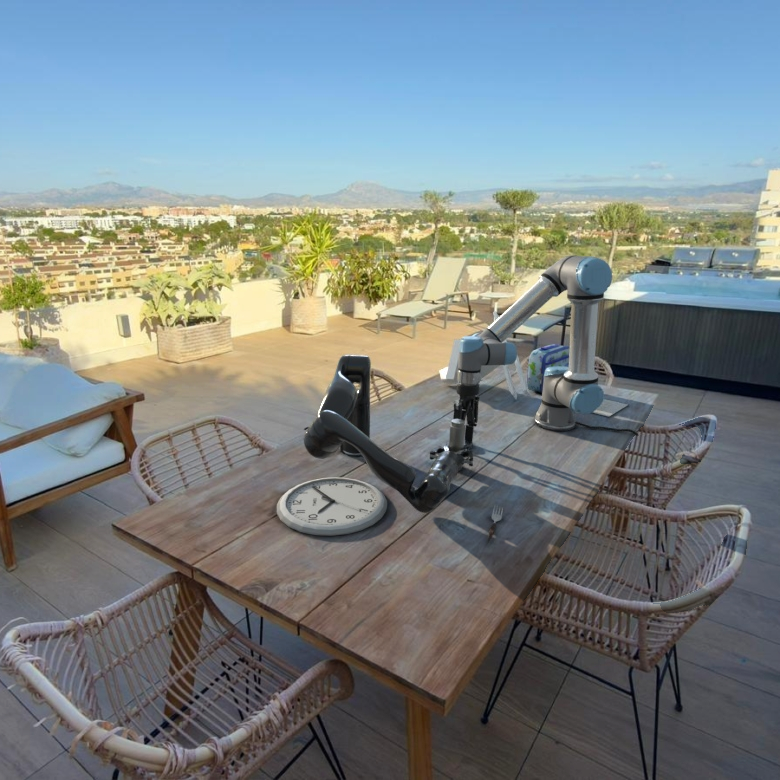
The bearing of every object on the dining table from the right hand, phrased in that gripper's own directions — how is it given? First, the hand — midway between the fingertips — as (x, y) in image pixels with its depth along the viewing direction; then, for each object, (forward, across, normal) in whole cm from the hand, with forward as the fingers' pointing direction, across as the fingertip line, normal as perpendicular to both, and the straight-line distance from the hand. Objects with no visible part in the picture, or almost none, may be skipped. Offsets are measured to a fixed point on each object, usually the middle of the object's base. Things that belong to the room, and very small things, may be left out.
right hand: (463, 445), depth 183 cm
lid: (-1, 0, 0) cm, 1 cm away
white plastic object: (0, -60, -26) cm, 65 cm away
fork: (0, +40, +32) cm, 52 cm away
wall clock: (+1, +58, -7) cm, 59 cm away
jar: (0, +16, +6) cm, 18 cm away
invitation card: (-1, -76, +24) cm, 80 cm away
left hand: (-6, +14, +6) cm, 16 cm away
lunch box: (-1, -86, -4) cm, 86 cm away
